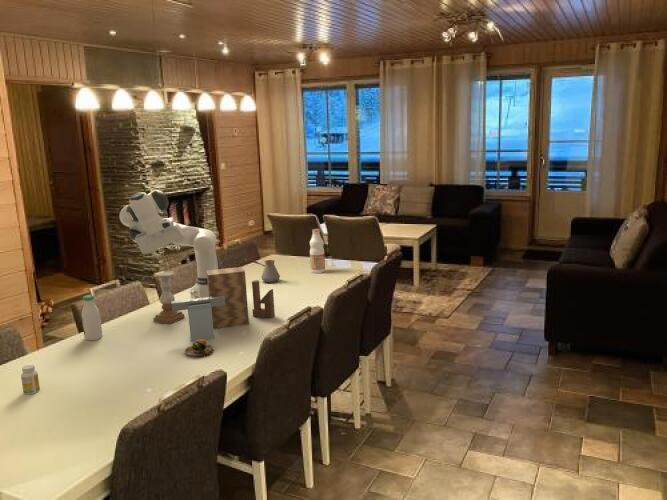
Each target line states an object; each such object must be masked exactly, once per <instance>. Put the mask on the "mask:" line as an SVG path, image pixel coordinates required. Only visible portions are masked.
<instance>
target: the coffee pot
mask: <svg viewBox="0 0 667 500" xmlns="http://www.w3.org/2000/svg"><path fill="white" fill-rule="evenodd" d="M247 260H248V261H250V262H252V263H254V264H257V265H261V266H262V267H264V269H263V271H262V275H261V278H260V279H261V280H262V281H263V282H264V283H266V282H273V283H277V282H278V281H279V280H280V277H281V275H280V273H279V271H278V269H277V267H276V265H275V262H276V261H275V260H274V259H268V260H264V264H263V263H260V262H258V261H256V260H254V259H251V258H249V257H246V258H245V259H244V262H246V261H247ZM276 281H277V282H276Z"/></svg>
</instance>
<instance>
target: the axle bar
mask: <svg viewBox="0 0 667 500" xmlns="http://www.w3.org/2000/svg"><path fill="white" fill-rule="evenodd" d="M207 303H211V307H213V306H222V305H225V297H224V295H222V296H214V297H205V298H196V299H188V300H187V299H182V300H174V301H172V311H188V306H190V305H199V304H207Z"/></svg>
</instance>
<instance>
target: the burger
mask: <svg viewBox="0 0 667 500" xmlns="http://www.w3.org/2000/svg"><path fill="white" fill-rule="evenodd" d="M203 336H204V335H203ZM195 342H196V343H195ZM195 342H193V343H192V345H191V346H189V347H187V348H186V349H185V350H184V353H185V354H186V355H188V356H192V357H199V356H202V358H206V357H208V354H209V355H213V354H214V351H215V350H214V346H212V345H211V344H207V341H206V339H198V340H197V341H195Z"/></svg>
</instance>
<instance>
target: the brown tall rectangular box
mask: <svg viewBox="0 0 667 500" xmlns="http://www.w3.org/2000/svg"><path fill="white" fill-rule="evenodd" d="M207 282H208V293H209V297H214V296H222V295H224V297H225V305H222V306H213V307H211V309H212V320H213V330H216V329H223V328H230V327H238V326H244V325H246V326H247V325H249V324H250V320H249V307H248V294H247V280H246V270H245V269H244V268H243V266H238V267H228V268H218V269H217V270H208V271H207Z"/></svg>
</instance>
